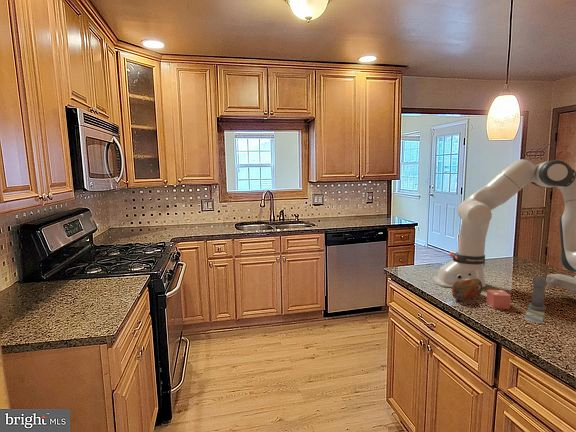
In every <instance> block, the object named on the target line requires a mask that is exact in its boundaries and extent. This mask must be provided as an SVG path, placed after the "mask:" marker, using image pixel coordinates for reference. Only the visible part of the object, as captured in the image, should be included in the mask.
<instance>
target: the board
mask: <svg viewBox="0 0 576 432" xmlns="http://www.w3.org/2000/svg"><path fill="white" fill-rule="evenodd" d="M527 308H528V309H526V313H525V316H524V320H525V321H530V322H533V323H538V324H543V322H544V318H545V313H546V309H547V308H546V309H545V311H537V310H533V309H531V308H529V306H528V307H527Z"/></svg>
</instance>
